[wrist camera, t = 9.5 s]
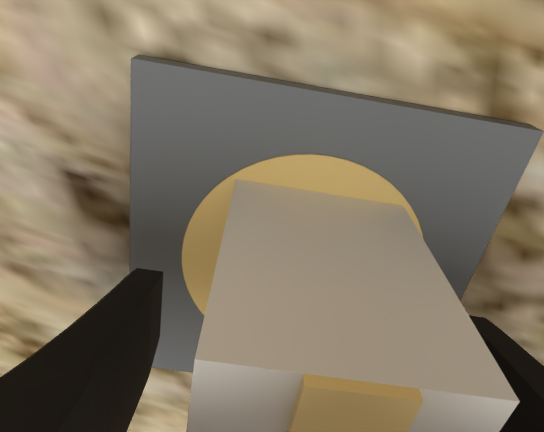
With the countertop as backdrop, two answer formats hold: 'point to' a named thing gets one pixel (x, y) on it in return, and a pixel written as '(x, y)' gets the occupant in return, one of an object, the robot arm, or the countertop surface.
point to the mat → (299, 172)
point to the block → (336, 325)
